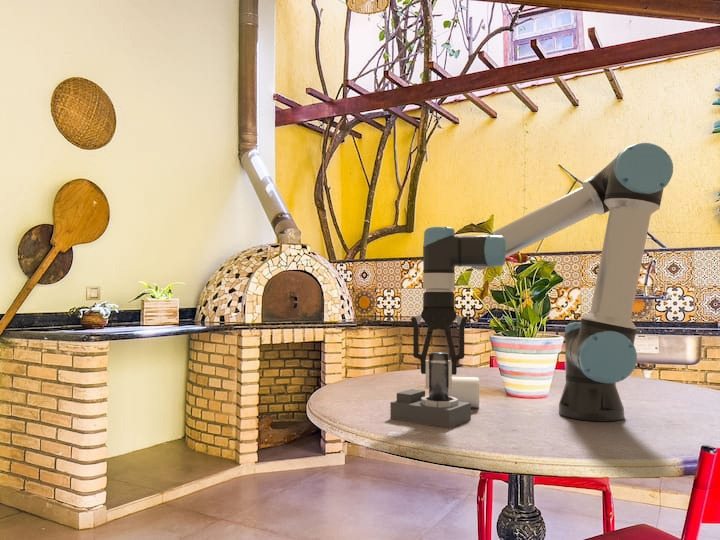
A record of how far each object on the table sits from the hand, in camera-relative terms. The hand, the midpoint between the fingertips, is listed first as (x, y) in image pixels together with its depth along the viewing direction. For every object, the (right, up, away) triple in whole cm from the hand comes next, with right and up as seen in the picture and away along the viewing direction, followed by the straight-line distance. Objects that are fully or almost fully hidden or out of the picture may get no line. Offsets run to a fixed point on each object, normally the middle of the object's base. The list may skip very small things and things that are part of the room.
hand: (438, 387), depth 135 cm
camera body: (-2, -8, +1) cm, 8 cm away
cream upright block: (+9, -9, +18) cm, 22 cm away
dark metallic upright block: (0, -4, 0) cm, 4 cm away
